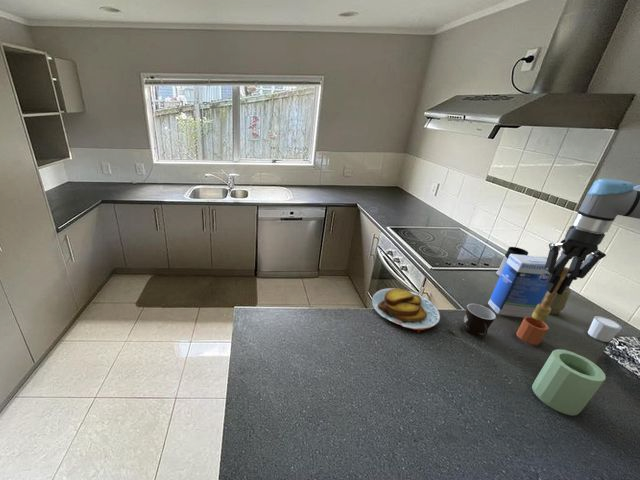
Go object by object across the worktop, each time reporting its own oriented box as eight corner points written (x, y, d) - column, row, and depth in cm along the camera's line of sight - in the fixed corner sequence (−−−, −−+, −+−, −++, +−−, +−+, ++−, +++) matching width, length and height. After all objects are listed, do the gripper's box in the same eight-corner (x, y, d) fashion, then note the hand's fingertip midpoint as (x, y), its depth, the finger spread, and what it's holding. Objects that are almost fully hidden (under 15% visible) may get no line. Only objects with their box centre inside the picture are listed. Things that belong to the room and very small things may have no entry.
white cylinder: (586, 336, 107) (595, 322, 104) (584, 327, 111) (593, 313, 109) (613, 346, 102) (624, 331, 100) (610, 336, 107) (620, 322, 104)
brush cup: (540, 340, 104) (550, 324, 101) (537, 349, 100) (547, 332, 97) (517, 330, 108) (526, 313, 105) (513, 338, 104) (522, 321, 101)
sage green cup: (581, 401, 82) (606, 367, 77) (578, 423, 76) (604, 388, 71) (535, 376, 90) (555, 343, 84) (528, 395, 84) (549, 361, 78)
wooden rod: (545, 318, 100) (574, 268, 92) (544, 323, 98) (573, 272, 90) (532, 313, 103) (559, 264, 94) (530, 317, 100) (557, 267, 92)
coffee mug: (461, 320, 112) (469, 300, 108) (487, 332, 107) (497, 311, 103) (454, 335, 105) (462, 314, 101) (482, 349, 99) (492, 327, 95)
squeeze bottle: (565, 316, 117) (587, 280, 110) (546, 316, 117) (566, 280, 110) (547, 304, 124) (566, 269, 117) (529, 303, 124) (547, 268, 117)
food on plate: (435, 344, 101) (440, 330, 98) (364, 315, 113) (367, 302, 111) (439, 306, 120) (443, 293, 117) (378, 285, 133) (381, 274, 130)
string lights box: (520, 308, 121) (546, 256, 110) (533, 321, 114) (562, 266, 103) (486, 304, 122) (509, 252, 112) (496, 316, 116) (522, 262, 105)
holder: (511, 272, 148) (523, 247, 142) (528, 288, 135) (542, 261, 129) (492, 269, 150) (503, 245, 144) (508, 285, 137) (520, 258, 131)
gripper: (610, 228, 87) (574, 290, 97) (550, 220, 92) (521, 280, 101) (630, 238, 81) (588, 303, 90) (564, 229, 85) (531, 292, 95)
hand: (553, 291), depth 96 cm, fingers closed on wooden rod, 2 cm apart
